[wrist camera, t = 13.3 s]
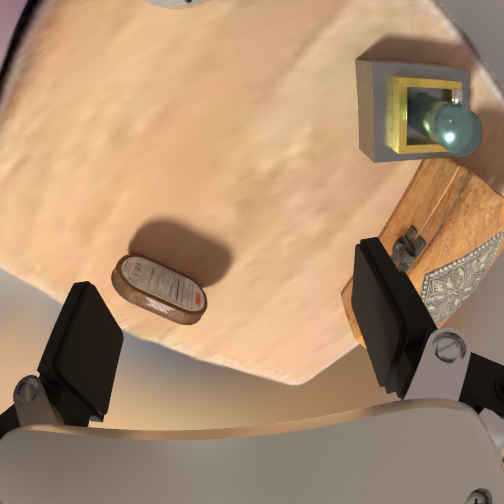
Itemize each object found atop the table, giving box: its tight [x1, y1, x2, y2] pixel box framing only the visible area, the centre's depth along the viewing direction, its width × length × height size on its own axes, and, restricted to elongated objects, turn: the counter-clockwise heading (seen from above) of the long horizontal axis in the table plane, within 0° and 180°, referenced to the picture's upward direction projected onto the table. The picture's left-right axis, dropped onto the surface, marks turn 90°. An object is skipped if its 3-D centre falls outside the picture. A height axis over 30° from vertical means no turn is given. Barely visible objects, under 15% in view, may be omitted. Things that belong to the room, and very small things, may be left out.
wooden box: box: [341, 158, 504, 349], centre depth 43 cm, size 30×16×14 cm, turn 158°
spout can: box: [408, 88, 482, 157], centre depth 27 cm, size 7×5×8 cm
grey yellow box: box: [355, 60, 470, 163], centre depth 32 cm, size 12×16×6 cm
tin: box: [111, 254, 207, 325], centre depth 46 cm, size 15×3×8 cm, turn 55°
